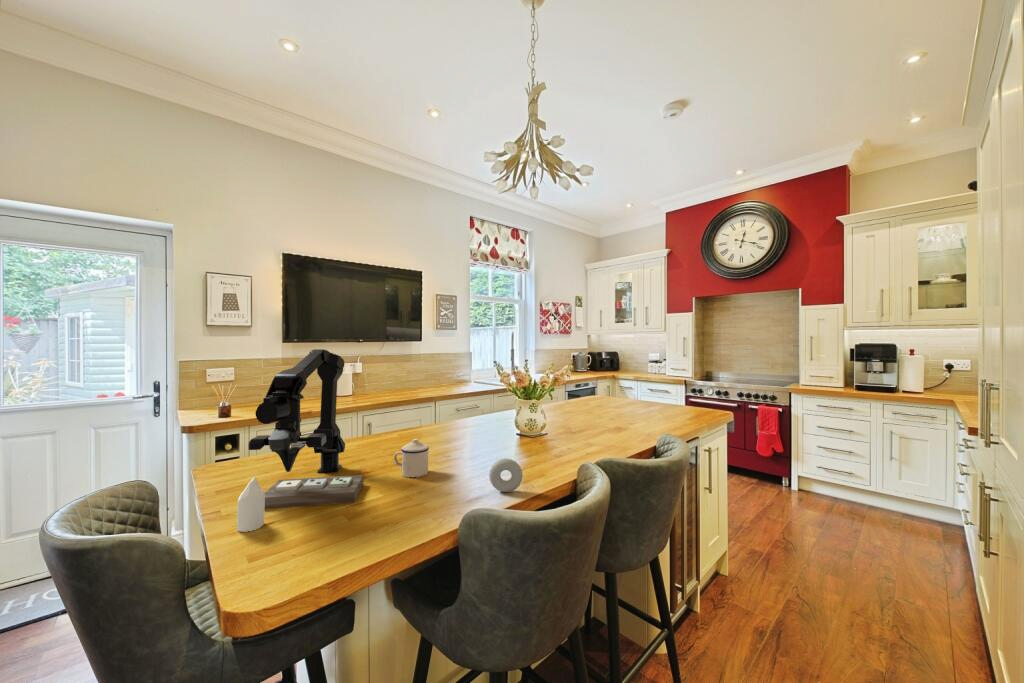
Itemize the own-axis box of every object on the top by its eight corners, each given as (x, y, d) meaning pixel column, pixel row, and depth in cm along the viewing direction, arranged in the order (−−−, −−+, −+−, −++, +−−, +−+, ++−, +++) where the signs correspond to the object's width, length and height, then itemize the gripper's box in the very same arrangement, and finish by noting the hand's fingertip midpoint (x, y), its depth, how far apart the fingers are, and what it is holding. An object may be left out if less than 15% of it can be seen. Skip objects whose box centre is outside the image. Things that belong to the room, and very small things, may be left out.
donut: (488, 494, 116) (488, 460, 116) (489, 489, 120) (489, 456, 120) (522, 494, 116) (522, 460, 116) (522, 490, 120) (522, 457, 120)
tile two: (308, 489, 116) (308, 479, 116) (326, 488, 117) (326, 478, 117) (303, 496, 111) (303, 485, 111) (322, 495, 112) (322, 484, 112)
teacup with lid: (432, 469, 138) (432, 436, 138) (423, 479, 129) (423, 443, 129) (399, 468, 139) (399, 435, 139) (388, 477, 130) (388, 442, 130)
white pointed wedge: (234, 476, 96) (261, 471, 100) (234, 526, 96) (261, 519, 100) (240, 483, 91) (267, 477, 95) (239, 534, 91) (267, 527, 95)
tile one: (282, 491, 115) (282, 480, 115) (301, 490, 116) (301, 479, 116) (275, 498, 110) (275, 486, 110) (295, 496, 111) (295, 485, 111)
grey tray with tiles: (279, 489, 119) (279, 479, 119) (363, 484, 123) (363, 474, 123) (258, 509, 105) (258, 497, 105) (354, 502, 110) (354, 491, 110)
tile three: (334, 488, 118) (334, 477, 118) (351, 487, 119) (351, 476, 119) (329, 494, 113) (329, 483, 113) (348, 493, 114) (348, 482, 114)
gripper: (238, 423, 103) (238, 483, 103) (315, 421, 107) (315, 479, 107) (257, 415, 114) (257, 469, 114) (326, 413, 118) (326, 466, 118)
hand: (288, 471), depth 113 cm, fingers closed
